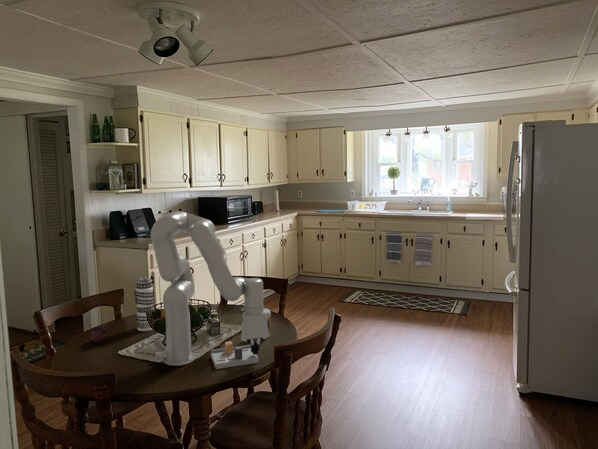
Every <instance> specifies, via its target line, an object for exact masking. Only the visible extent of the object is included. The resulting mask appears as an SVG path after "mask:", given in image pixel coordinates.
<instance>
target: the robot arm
mask: <svg viewBox="0 0 598 449" xmlns="http://www.w3.org/2000/svg"><path fill="white" fill-rule="evenodd" d="M150 230H151V231H150V239H151V244H152V246H153V251H154V254H155V255H154V256H155V260H156V264H157V269H158V271H159V276H160V277H161V278H162V279H163V281H165V282H170V285H169V286H168V287H166V289H165V290H164V293H163V296H162V304H163V308H164V316H165V318H164V319H165V335H166V336H165V337H166V347H165V350H163V351H156V352H155V353H154V354H155V358H158V359H160V360H161V359H162V360H163V363H164V364H165V365H166V366H167V365H168V366H172V367H173V366H174V367H176V366H178V367H179V366H184V365H189V364H190V363H192V362H193V361H195V360H196V354H195V353H194V352H192V337H191V336H192V335H191V315H190V314H191V313H190V308H189V301H190V300H191V299H192V297H193V296H194V294H195V282H194V278H193V275H192V271H191V266H190V263H189V261H188V259H187V258H186V257H185V255H183V254H182V253H178V249H177V248H178V247H177V244H176V242H175V239H174V236H175V235H177V234H179V233H183V234H187V235H189V236H190V239H191V241H193V243H194V245H195V246H196V248H197V250H198V251H199V254H201V256H202V258H203V260H204V261H205V262H206V265H207V268H208V271H209V274H210V276H211V277H210V278H211V279H212V282H213V283H214V285H215V287H216V288H217V290H218V292H219V294H220V295H221V296H222V298H224V299H225V300H226V301H228V302H236V301H237V300H239V299H240V298H241V297H242V296H244V297H243V298H244V306H243V307H240V311H241V312H243V313H242V317H241V330H240V331H241V341H242V342H248V343H249V345H251V352H252V353H253V354H254V355H255V354H256V355H258V354H259V351H260V343H261V342H262V341H263V340H265V339H268V338H269V337H268V324H267V316H266V312H265V311H264V308H265V307H264V306H265V305H264V281H263V279H261V278H259V277H252V278H251V277H250V278H247V277H241V276H240V277H239V276H233V275H232V273H231V271H230V268H229V265H228V260H227V259H228V258H227V253H226V250H225V248H224V247H223V246H222V244H221V242H220V240H219V238H218V237H217V236H216V234H215V233H216V226H215V224H214V223H213V222H212V221H211V220H209V219H206V218H204V217H201V216H198V215H195V214H192V213H188V212H185V211H182V210H181V211H178V210H177V211H173V212H169V213H166V214H164V215H162V216H161V217H159V218H158V219H157V220H156V221H155V222H154V223H153V225H152V227H151V229H150ZM267 337H268V338H267ZM254 339H255V341H254Z"/></svg>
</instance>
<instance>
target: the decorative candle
mask: <svg viewBox="0 0 598 449" xmlns="http://www.w3.org/2000/svg"><path fill="white" fill-rule="evenodd" d="M153 282H154V281H153V279H152V278H150V277H149V276H141V277H138V278H137V279H136V281H134V283H135V289H134V290H133V292H134V293H133V294H134V299H135V300H134V302H135V307H136V315H135V317H136V318H135V320H136V322H135V323H136V327H137V328H136V330H137V331H140V332H147V331H151V330H153V329H152V328H151V327H150V326H149V323H148V321H147V315H146V311H147V310H149V309H150V310H154V311H155V309H154V304H155V302H154V301H155V299H154V297H155V294H154V293H155V291H154V288H153Z"/></svg>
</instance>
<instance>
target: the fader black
mask: <svg viewBox="0 0 598 449" xmlns="http://www.w3.org/2000/svg"><path fill="white" fill-rule="evenodd" d="M241 346H242V345H240V346H239V345H237V346H234V347H235V358H236V360H237V359H242V347H241Z"/></svg>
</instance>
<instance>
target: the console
mask: <svg viewBox="0 0 598 449" xmlns="http://www.w3.org/2000/svg"><path fill="white" fill-rule="evenodd" d="M240 346H241V347H242V359H237V360H236V358H235V347H236V346H233V354H227V353H226V351H225V347H224V348H216V349H210V358H211V360H212V363H213V365H214V368H215V370H218V369H225V368H230V367H231V368H232V367H238V366H245V365H251V364H252V363H253V364H257V363H259V356H258V354H255V355H254V354H253V353H252V352H251V344H244V345H240Z"/></svg>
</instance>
